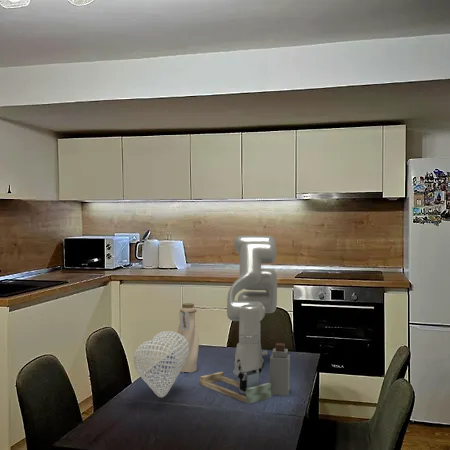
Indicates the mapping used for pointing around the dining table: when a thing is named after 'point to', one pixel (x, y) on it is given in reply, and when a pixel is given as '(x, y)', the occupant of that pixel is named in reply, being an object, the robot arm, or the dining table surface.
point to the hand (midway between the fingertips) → (248, 388)
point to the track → (251, 393)
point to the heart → (177, 369)
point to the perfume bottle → (280, 370)
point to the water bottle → (189, 336)
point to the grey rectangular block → (250, 380)
